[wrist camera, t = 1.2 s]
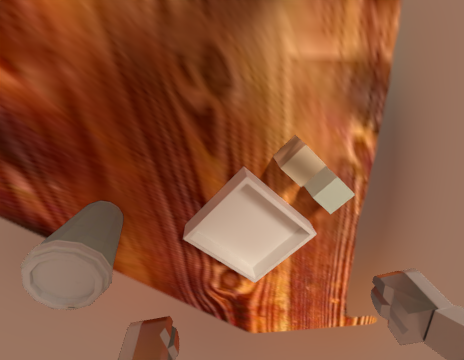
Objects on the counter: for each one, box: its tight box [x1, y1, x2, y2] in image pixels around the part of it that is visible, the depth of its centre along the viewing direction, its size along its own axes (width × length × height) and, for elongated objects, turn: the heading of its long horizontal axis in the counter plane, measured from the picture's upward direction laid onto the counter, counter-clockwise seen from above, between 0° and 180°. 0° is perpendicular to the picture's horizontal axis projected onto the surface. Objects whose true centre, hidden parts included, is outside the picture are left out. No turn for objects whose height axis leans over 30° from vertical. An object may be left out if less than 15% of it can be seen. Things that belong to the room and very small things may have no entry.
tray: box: [183, 166, 317, 283], centre depth 44 cm, size 16×18×4 cm
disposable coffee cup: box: [21, 201, 123, 310], centre depth 36 cm, size 11×11×15 cm
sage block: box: [304, 166, 355, 214], centre depth 41 cm, size 5×5×5 cm
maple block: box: [273, 135, 326, 187], centre depth 38 cm, size 5×5×5 cm
